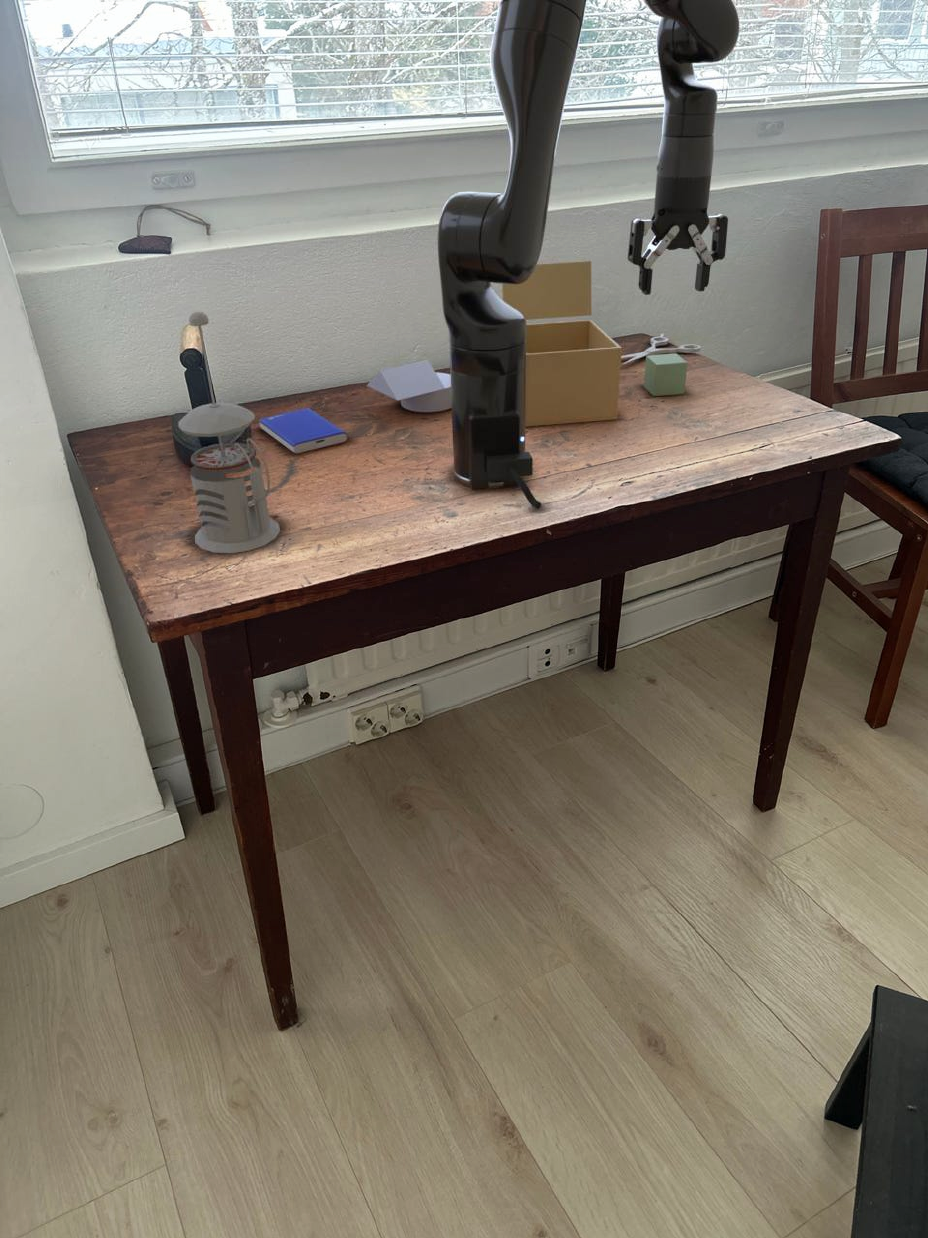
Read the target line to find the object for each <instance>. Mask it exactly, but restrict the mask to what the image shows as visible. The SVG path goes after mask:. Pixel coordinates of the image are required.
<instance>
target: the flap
mask: <svg viewBox="0 0 928 1238" xmlns="http://www.w3.org/2000/svg"><path fill="white" fill-rule="evenodd" d="M501 294H502V296H501V297H502V298H501V299H502V300H503V301H504V302H506V303H507V304H509V305H510V306H512V307H513V308H515V309H517V310H518V311H520V312H521V313H522V314H523V315H524V317H525V319H526V321H527V320H529V321H530V320H543V319H544V320H545V319H557V318H571V317H572V318H573V317H586V316H587V317H588V316H592V261H591V260H587V261H585V260H584V261H570V262H553V263H537V265H536V267H535V269H534V271H533V273H532V274H531V276H530V277H529V278H528V279H527V280H526V281H525V282H524V283H521V284H515V285H511V284H501Z"/></svg>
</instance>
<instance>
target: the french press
mask: <svg viewBox="0 0 928 1238" xmlns="http://www.w3.org/2000/svg"><path fill="white" fill-rule="evenodd" d="M188 322H189V323H188V324H189V326H191V327H198V333H199V337H200V343H201V348H202V353H203V358H204V359H203V360H204V363H205V370H206V374H207V380H208V386H209V391H210V396H211V402H212V403H211V402H210V403H207V404H203V405H199V406H197V407H195V408H193V409H192V410H190V411H189V412H188V413H186V414H185V415H184V416H183V417H181V419H179V420H178V425H177V427H178V429H179V430H180V431H181V432H183V433H184V434H185V435H188V436H193V437H199V438H200V437H202V438H212V437H213V438H214V437H218V440H219V443H214V444H211V445H208V446H203V447H202V448H199V449H198V450H196V451H195V452H193V454H191V456H190V459H189V460H190V461H189V462H190V463H191V464H192V465H193V466H192V467H191V468H190V469H189V475H190V480H191V484H192V486H191V487H192V489H193V491H195V493H194V500H195V502H197V503H196V509H197V512H198V513H199V514H198V520H199V522H200V523H201V524H200V529H198V531H197V532H196V533H195V534H194V543H195V544H196V545H197V546H198V547H199V548H200V549H201V550H204V551H207V552H211V553H215V554H236V553H244V552H249V551H252V550H255V549H258V548H262V547H265V546H266V545H268V544H269V543H270V542H272V541H274V540H276V538H277V537H278V535H279V534H280V533H281V529H280V528H281V527H280V524H279V522H277V521H276V520H274V519H273V518H271V517H270V512H269V507H268V506H269V505H268V501H267V497H268V496H269V494H270V487H271V480H270V473H269V469H268V463H267V461H266V460H265V458H264V455H263V453H262V451H261V449H260V448H259V446H258V444H256V442H255V441H254V440H253V439H252V438H250V437H247V438H246V440H245V441H246V443H241V442H231V443H230V442H225V443H224V442H223V441H222V439H223V438H222V436H227V435H232V434H236V433H238V432H241V431H243V430H246V429H247V428H249V426H250V425H251V424H253V422H254V420H255V418H256V416H255V413H254V412H253V411H251V410H250V409H248V408H245V407H244V406H241V405H238V404H236V403H232V402H216V401H215V396H214V390H213V385H212V380H211V373H210V370H209V364H208V357H207V353H206V352H207V351H206V347H205V342H204V336H203V331H202V326H206V325H208V324H209V317H208V316H207V315H206V314H205V312H202V311H195V312H193V313H191V315H190V316H189V317H188ZM250 443H251V444H252V445H253V446H251V445H250ZM257 452H258V454H259V456H260V458H261V460H262V463H263V466H264V469H265V473H266V481H267V483H266V485H267V487H266V488H267V490H266V489H265V481H264V480H265V479H264V478H263V470H262V464H261V462H260V460H259V458H257V457H256V455H257ZM255 468H257V470H256V471H255ZM248 470H251V471H252V472H251V473H250V474H247V475H244V476H239V477H238V476H237V477H230V476H229V477H228V476H227V475H226V473H233V474H235V473H241V472H245V471H248ZM249 481H250V484H249V485H246V484H245V483H247V482H249ZM248 492H251V495H248V494H247V493H248Z"/></svg>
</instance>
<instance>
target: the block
mask: <svg viewBox="0 0 928 1238" xmlns="http://www.w3.org/2000/svg"><path fill="white" fill-rule="evenodd" d="M688 363H689V362H688V361H687V360H685V359H684V358H682V356H680V355H679V354H678V353H677V352H675V353H662V354H656V355H648V356H645V363H644V364H645V365H644V366H645V368H644V378H643V387H644V388H645V390H646V391H647V392H648V393H650V394H651V396H653V397H662V396H677V395H684V394H685V390H686V380H687V373H688V372H687V370H688Z"/></svg>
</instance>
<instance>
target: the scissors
mask: <svg viewBox="0 0 928 1238" xmlns="http://www.w3.org/2000/svg"><path fill="white" fill-rule="evenodd" d="M665 335H666V334H665V333H660V336H653V337H651V338H650V344H651V345H650V347H648V348H646V349H645V350H644V351H640V352H635V353H629V354H625V355H621V359H623V358H630V359H629V360H627V361H625V362H623V363H621V366H622V365H626V364H628V363H630V362H633V361H636V360H639V359H641V358H644V357H646V356H648V355H662V354H675V353H685V354H690V353H691V354H694V353H699V352H701V345H699V344H692V343H691V344H682V345H680V347H674V348H656V347H659V346H666V345H668V343H669V338H668V337H665ZM631 357H632V358H631Z"/></svg>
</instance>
